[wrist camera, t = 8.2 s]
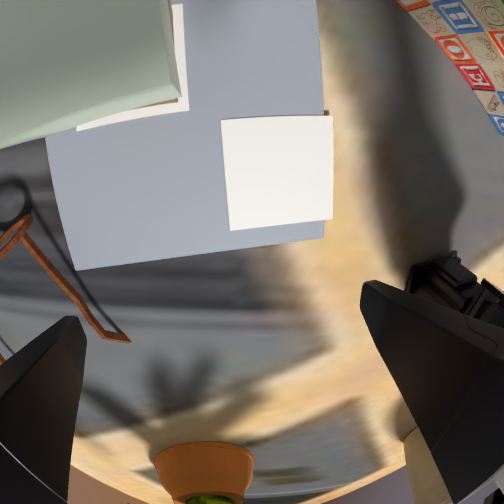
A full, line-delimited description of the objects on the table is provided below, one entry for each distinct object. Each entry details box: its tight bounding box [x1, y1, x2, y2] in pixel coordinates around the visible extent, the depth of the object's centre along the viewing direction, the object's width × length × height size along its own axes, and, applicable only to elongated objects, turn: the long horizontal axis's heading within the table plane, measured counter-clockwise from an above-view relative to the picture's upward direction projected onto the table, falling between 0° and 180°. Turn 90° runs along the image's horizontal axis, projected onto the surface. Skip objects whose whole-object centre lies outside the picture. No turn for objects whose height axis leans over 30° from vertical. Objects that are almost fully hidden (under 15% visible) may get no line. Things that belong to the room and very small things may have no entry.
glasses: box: [0, 214, 131, 364], centre depth 19 cm, size 13×13×5 cm
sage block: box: [0, 0, 182, 149], centre depth 7 cm, size 6×6×6 cm
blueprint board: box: [45, 0, 333, 271], centre depth 17 cm, size 20×19×1 cm
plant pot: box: [404, 427, 452, 504], centre depth 36 cm, size 15×15×16 cm
